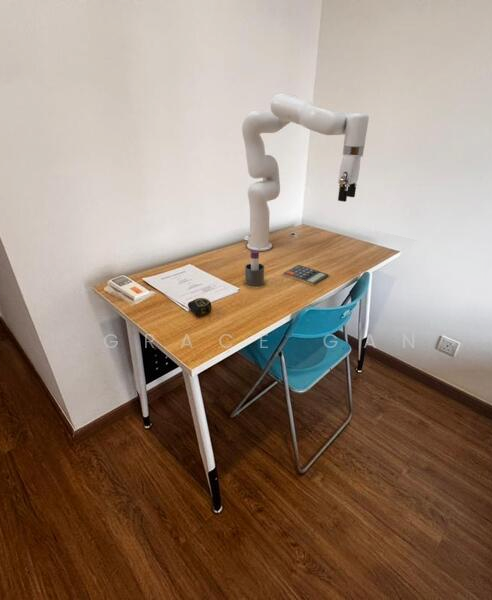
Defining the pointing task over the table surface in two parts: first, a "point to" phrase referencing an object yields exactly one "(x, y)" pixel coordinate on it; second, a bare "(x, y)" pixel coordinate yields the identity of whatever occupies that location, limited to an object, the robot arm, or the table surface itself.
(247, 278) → the pen cup
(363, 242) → the table surface
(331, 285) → the table surface
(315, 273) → the calculator
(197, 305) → the tape measure
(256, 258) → the glue stick
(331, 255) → the table surface
